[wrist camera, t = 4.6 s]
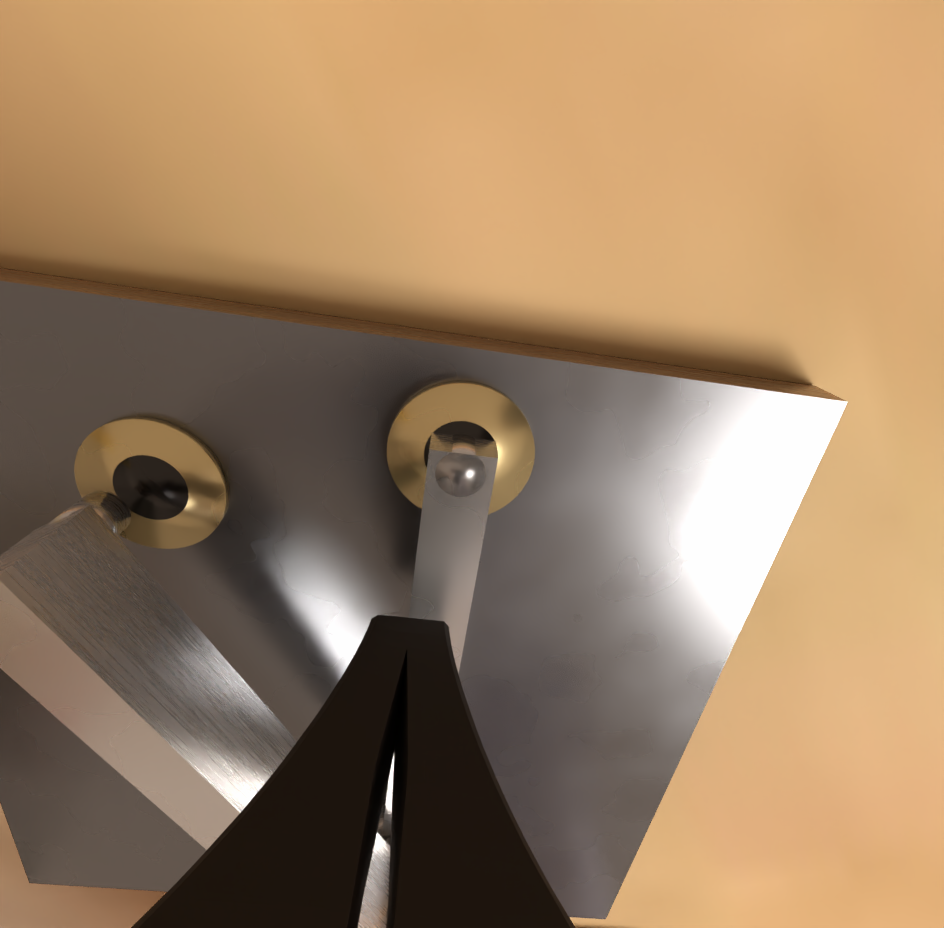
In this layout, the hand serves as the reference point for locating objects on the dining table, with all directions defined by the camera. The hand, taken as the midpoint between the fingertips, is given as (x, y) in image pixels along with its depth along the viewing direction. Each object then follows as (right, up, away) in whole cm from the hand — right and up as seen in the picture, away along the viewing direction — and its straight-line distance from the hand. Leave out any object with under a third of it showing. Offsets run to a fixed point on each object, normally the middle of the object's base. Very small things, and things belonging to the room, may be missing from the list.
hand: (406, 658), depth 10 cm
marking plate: (-2, -2, +4) cm, 5 cm away
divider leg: (-3, -3, +3) cm, 5 cm away
